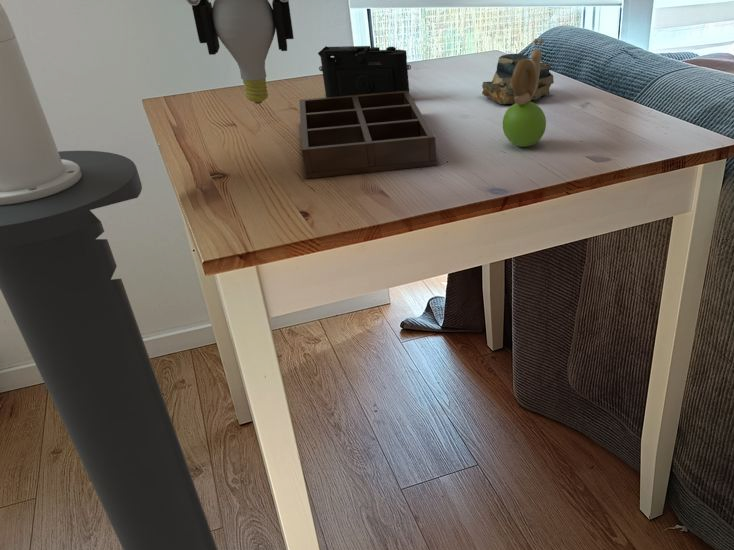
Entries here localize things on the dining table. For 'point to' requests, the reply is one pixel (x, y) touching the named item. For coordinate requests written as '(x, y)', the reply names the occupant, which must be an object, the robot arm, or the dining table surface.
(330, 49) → the camera
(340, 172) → the compartment tray
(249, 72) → the light bulb
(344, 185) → the dining table surface
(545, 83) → the rock
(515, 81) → the snail figurine
